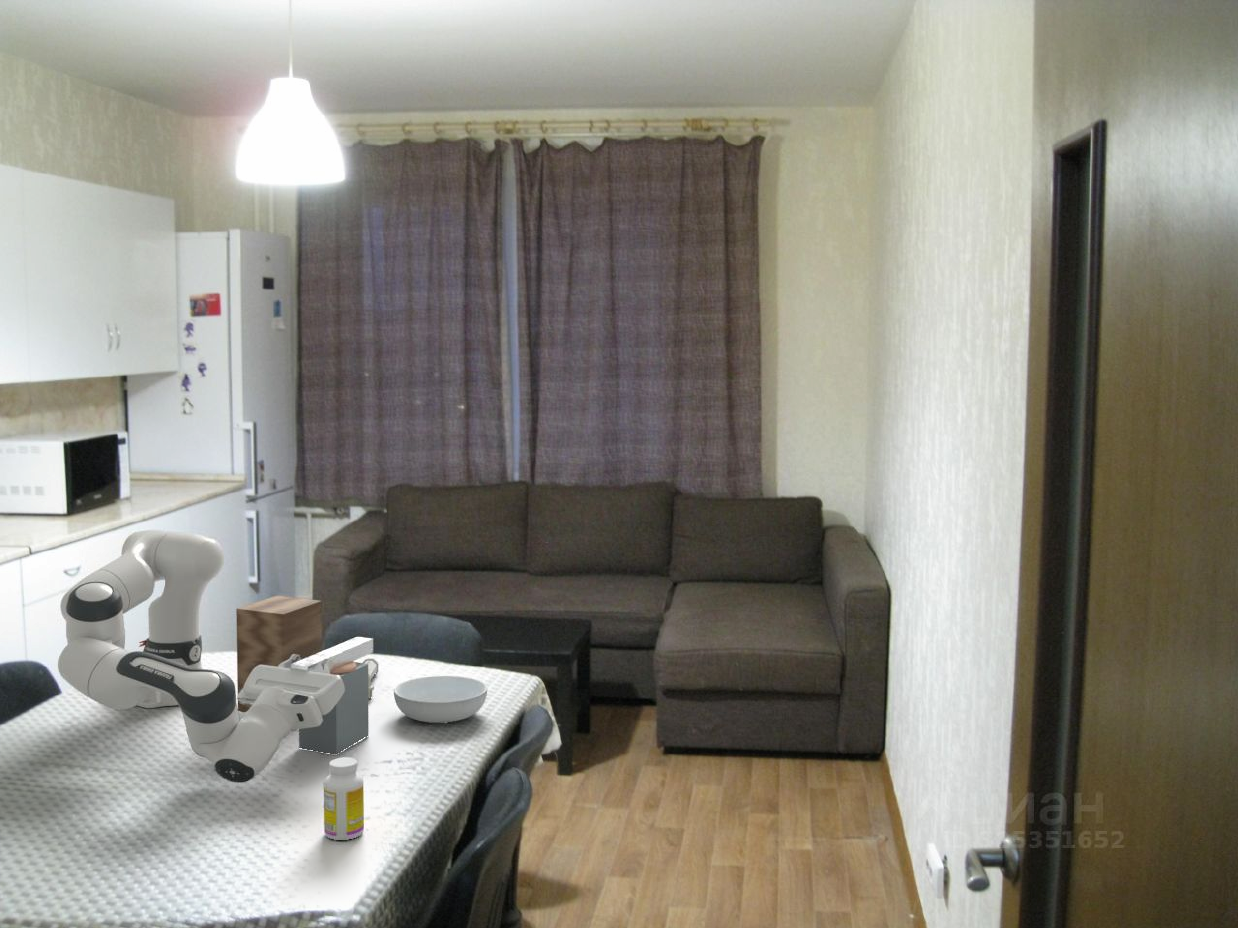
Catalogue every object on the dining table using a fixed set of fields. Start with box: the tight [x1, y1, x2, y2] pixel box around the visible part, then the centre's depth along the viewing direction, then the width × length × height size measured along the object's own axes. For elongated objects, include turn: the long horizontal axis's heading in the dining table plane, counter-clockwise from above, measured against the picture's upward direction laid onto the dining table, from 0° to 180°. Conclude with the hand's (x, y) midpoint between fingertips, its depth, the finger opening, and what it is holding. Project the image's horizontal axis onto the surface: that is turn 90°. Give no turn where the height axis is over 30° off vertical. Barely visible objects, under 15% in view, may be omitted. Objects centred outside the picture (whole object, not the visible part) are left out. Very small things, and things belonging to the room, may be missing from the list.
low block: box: [298, 661, 369, 755], centre depth 249 cm, size 9×12×17 cm
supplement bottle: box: [323, 757, 365, 841], centre depth 205 cm, size 7×7×13 cm
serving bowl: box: [393, 675, 489, 724], centre depth 268 cm, size 21×21×7 cm
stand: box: [235, 595, 323, 712], centre depth 262 cm, size 12×14×26 cm
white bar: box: [291, 636, 374, 673], centre depth 248 cm, size 4×24×3 cm, turn 160°
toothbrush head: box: [361, 658, 379, 700], centre depth 290 cm, size 5×7×25 cm
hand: (313, 658), depth 241 cm, fingers open, 6 cm apart
